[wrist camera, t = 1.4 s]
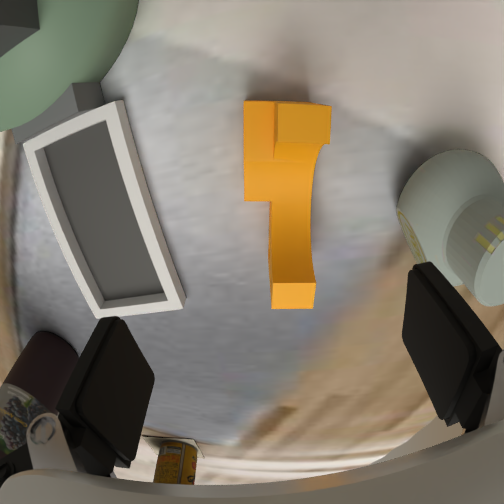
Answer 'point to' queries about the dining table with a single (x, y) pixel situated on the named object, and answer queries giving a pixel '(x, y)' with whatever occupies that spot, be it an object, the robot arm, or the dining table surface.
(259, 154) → the pipe clamp
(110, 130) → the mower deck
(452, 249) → the air freshener
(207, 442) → the dining table surface
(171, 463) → the condiment
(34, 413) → the wine bottle
